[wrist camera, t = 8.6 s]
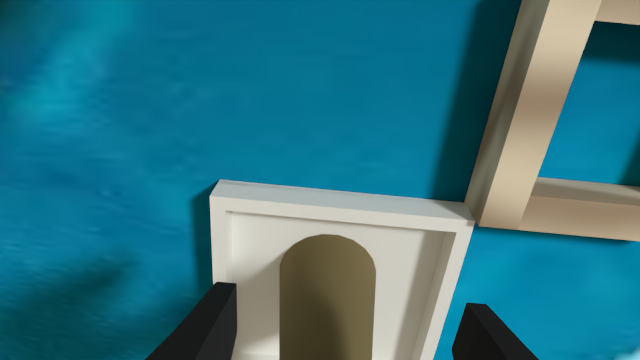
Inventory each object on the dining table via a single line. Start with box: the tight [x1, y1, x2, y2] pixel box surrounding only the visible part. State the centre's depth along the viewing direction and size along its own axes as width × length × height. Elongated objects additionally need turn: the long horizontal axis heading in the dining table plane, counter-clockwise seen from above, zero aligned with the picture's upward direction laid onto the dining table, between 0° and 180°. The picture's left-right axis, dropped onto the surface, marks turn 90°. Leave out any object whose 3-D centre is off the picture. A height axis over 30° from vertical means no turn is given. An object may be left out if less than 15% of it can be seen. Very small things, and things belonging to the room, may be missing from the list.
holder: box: [464, 0, 640, 241], centre depth 18 cm, size 12×12×2 cm
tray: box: [210, 180, 475, 360], centre depth 24 cm, size 14×14×2 cm
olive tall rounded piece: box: [279, 234, 376, 360], centre depth 19 cm, size 6×6×11 cm
